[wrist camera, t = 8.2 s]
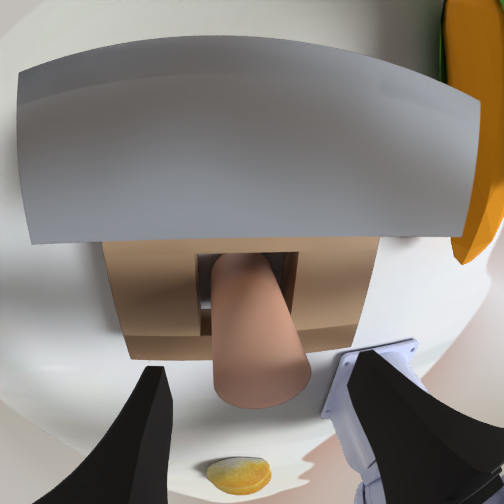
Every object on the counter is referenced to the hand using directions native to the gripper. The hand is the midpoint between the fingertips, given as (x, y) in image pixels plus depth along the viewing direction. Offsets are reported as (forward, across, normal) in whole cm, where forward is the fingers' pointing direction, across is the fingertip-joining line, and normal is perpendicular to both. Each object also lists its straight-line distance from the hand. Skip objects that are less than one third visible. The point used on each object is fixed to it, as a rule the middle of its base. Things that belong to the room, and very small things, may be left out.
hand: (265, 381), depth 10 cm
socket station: (+8, 0, -3) cm, 8 cm away
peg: (+8, 0, 0) cm, 8 cm away
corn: (+8, -14, -12) cm, 20 cm away
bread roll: (+9, 0, +30) cm, 31 cm away
